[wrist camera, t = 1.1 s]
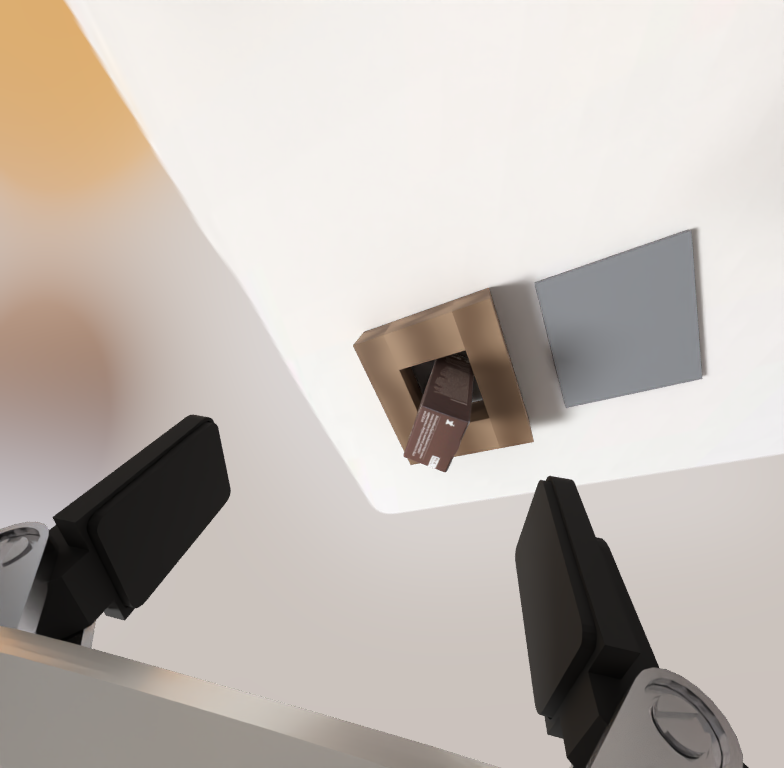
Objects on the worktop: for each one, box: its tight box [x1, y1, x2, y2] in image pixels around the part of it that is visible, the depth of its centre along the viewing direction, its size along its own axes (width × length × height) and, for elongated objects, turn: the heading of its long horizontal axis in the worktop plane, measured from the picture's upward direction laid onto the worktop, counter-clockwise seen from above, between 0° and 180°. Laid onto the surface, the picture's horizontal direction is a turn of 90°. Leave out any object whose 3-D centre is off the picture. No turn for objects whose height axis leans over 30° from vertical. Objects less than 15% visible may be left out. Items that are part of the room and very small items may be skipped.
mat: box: [535, 230, 702, 408], centre depth 33 cm, size 12×14×1 cm
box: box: [404, 354, 474, 472], centre depth 34 cm, size 6×4×12 cm
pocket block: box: [353, 288, 534, 465], centre depth 38 cm, size 14×16×4 cm
